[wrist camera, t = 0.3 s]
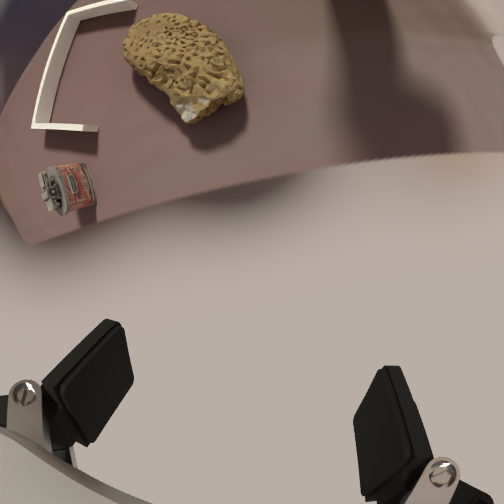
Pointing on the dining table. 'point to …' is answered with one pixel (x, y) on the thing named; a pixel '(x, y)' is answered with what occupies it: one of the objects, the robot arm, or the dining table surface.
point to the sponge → (184, 64)
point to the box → (41, 119)
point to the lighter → (67, 187)
